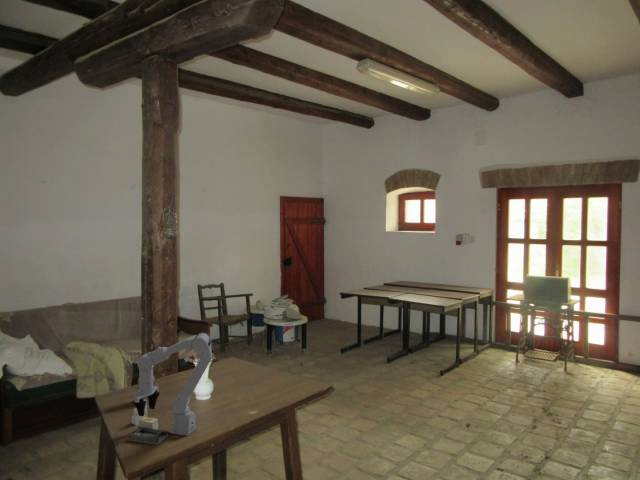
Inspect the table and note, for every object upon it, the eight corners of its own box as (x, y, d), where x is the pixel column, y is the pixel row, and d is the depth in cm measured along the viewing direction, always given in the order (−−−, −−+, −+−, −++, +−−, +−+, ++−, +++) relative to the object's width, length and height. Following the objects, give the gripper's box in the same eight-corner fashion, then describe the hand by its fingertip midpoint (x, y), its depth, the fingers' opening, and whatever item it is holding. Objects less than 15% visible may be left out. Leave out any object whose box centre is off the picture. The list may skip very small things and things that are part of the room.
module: (158, 429, 212) (157, 418, 211) (152, 433, 208) (152, 422, 207) (144, 427, 214) (144, 416, 213) (138, 431, 210) (138, 420, 209)
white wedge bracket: (155, 412, 223) (147, 400, 219) (139, 429, 217) (129, 416, 213) (151, 410, 225) (142, 398, 222) (134, 427, 219) (125, 414, 215)
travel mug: (134, 402, 242) (134, 367, 240) (147, 396, 249) (146, 363, 248) (146, 405, 238) (145, 370, 237) (158, 399, 245) (157, 365, 244)
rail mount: (168, 436, 205) (168, 430, 205) (157, 444, 198) (157, 438, 198) (138, 432, 209) (138, 426, 209) (127, 439, 202) (127, 434, 202)
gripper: (148, 375, 216) (149, 404, 217) (127, 386, 202) (128, 417, 203) (162, 377, 215) (162, 406, 215) (141, 388, 201) (142, 419, 201)
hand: (146, 412), depth 209 cm, fingers open, 7 cm apart
